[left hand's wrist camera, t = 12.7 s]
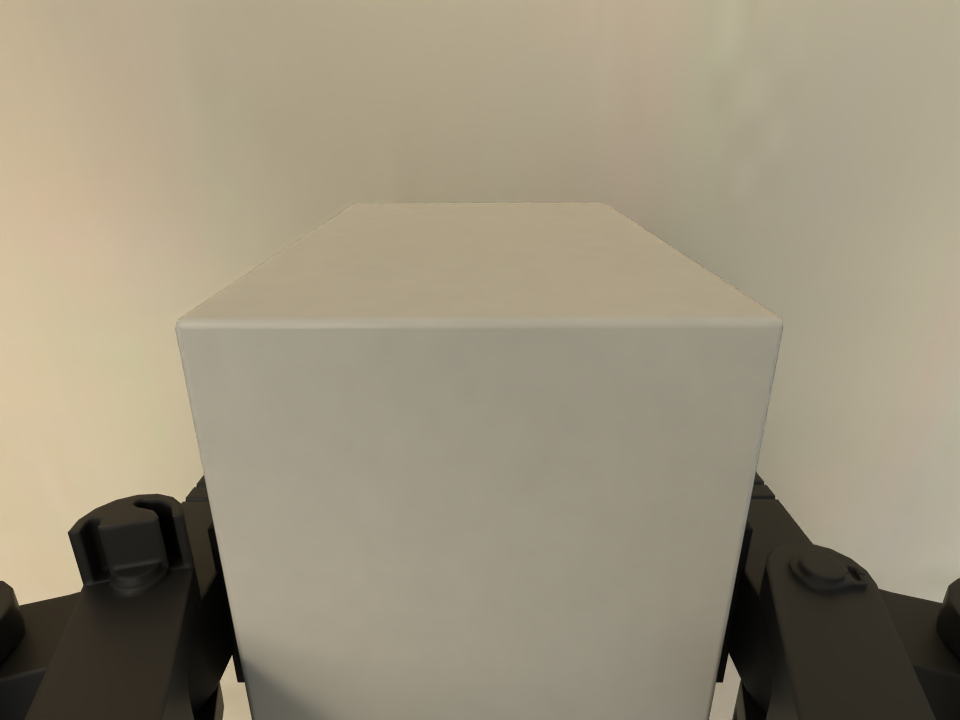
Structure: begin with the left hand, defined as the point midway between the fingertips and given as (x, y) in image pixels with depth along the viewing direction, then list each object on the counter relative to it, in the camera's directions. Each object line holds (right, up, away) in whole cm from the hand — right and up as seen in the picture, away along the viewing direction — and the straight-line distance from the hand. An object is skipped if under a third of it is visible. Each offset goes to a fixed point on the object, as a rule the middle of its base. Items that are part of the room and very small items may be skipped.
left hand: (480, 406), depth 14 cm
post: (0, -24, +10) cm, 27 cm away
